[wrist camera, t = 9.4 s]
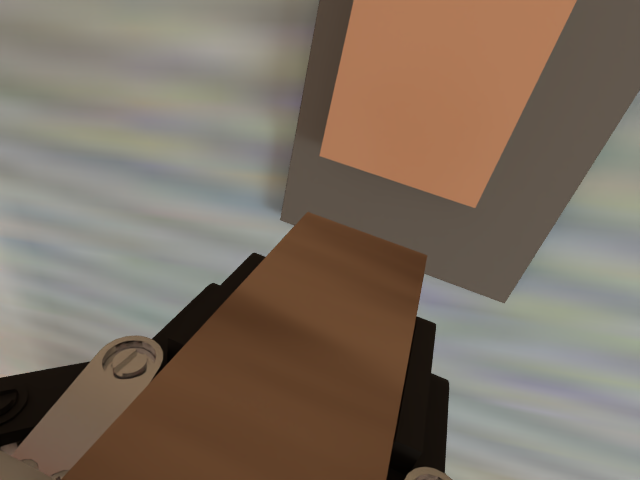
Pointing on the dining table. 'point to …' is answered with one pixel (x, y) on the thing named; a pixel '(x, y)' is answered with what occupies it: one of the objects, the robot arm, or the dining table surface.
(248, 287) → the block
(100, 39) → the dining table surface
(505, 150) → the mat
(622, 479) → the dining table surface
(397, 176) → the tile
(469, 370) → the dining table surface
